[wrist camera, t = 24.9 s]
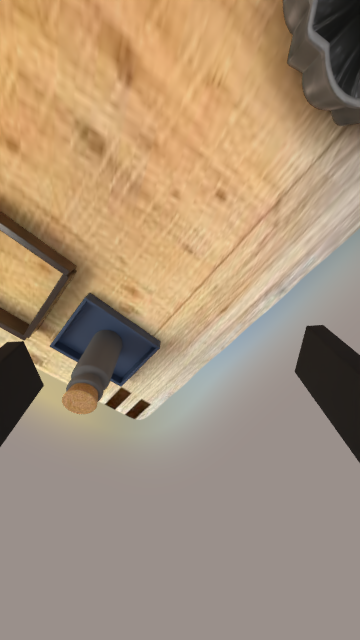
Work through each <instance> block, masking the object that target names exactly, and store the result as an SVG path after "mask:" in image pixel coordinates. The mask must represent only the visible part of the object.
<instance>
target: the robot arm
mask: <svg viewBox="0 0 360 640" xmlns="http://www.w3.org/2000/svg"><path fill="white" fill-rule="evenodd" d="M295 373H296V374H297V376H298V377H299V378H300V380H301V381H302V383H303V384H304V385H305V387H306V388H307V390H308V391H309V392H310V394H311V395H312V397H313V398H314V399H315V401H316V402H317V404H318V405H319V406H320V408H321V409H322V410H323V412H324V413H325V415H326V416H327V418H328V419H329V420H330V422H331V423H332V425H333V426H334V427H335V429H336V430H337V432H338V433H339V434H340V436H341V437H342V439H343V440H344V441H345V443H346V444H347V446H348V447H349V448H350V450H351V451H352V453H353V454H354V455H355V457H356V458H357V460H358V461H359V462H360V355H359V354H358V353H356V352H355V351H354V350H353V349H352V348H350V347H349V346H348V345H347V344H345V343H344V342H343V341H342V340H340V339H339V338H338V337H337V336H336V335H334V334H333V333H332V332H331V331H330V330H328V329H327V328H326V327H325V326H323V325H317V326H307V327H306V331H305V334H304V338H303V342H302V346H301V350H300V353H299V357H298V361H297V365H296V369H295ZM42 387H43V383H42V381H41V379H40V376H39V374H38V372H37V370H36V367H35V365H34V363H33V361H32V359H31V357H30V354H29V352H28V350H27V348H26V346H25V344H24V341H22V342H7V343H6V344H4V345H3V346H2V347H1V348H0V446H1V445H2V444H3V442H4V441H5V440H6V438H7V437H8V435H9V434H10V432H11V431H12V430H13V428H14V427H15V425H16V424H17V423H18V421H19V420H20V418H21V417H22V415H23V414H24V412H25V411H26V410H27V408H28V407H29V406H30V404H31V403H32V401H33V400H34V399H35V397H36V396H37V394H38V393H39V391H40V390H41V389H42Z"/></svg>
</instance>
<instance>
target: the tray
mask: <svg viewBox="0 0 360 640" xmlns="http://www.w3.org/2000/svg"><path fill="white" fill-rule="evenodd" d="M101 330H110V331H113V332H115V333H117V334H118V335H119V336H120V337H121V339H122V348H121V351H120V354H119V357H118V360H117V363H116V366H115V369H114V371H113V374H112V377H111V380H110V381H112V382H114V383H115V384H117V385H119V386H122V385H123V384H124V383H125V382H126V381H127V380H128V379H129V378H130V377H131V376H132V375H133V374H134V373H135V372H136V371H137V370H138V369H139V368H140V367H141V366H142V365H143V364H144V363H145V362H146V361H147V360H148V359H149V358H150V357H151V356H152V355H153V354H154V353H155V352H156V351H157V350H158V349H159V348H160V341H159V340H158V339H156V338H155V337H153V336H152V335H150V334H149V333H147V332H146V331H145V330H143V329H142V328H140V327H139V326H137V325H136V324H134V323H133V322H132V321H130V320H129V319H127V318H126V317H124V316H123V315H121V314H120V313H119V312H117V311H116V310H114V309H113V308H111V307H110V306H108V305H107V304H106V303H104V302H103V301H101V300H100V299H98V298H97V297H95V296H94V295H93V294H91V293H89V294H88V295H87V296H86V297H85V298H84V299H83V301H82V302H81V304H80V305H79V306H78V308H77V309H76V310H75V312H74V313H73V315H72V316H71V317H70V319H69V320H68V321H67V323H66V324H65V326H64V327H63V328H62V330H61V331H60V332H59V334H58V335H57V337H56V338H55V339H54V341H53V342H52V343H51V345H50V347H52V348H53V349H55V350H57V351H59V352H60V353H62V354H64V355H66V356H67V357H69V358H71V359H73V360H75V361H76V362H78V361H79V360H80V358H81V356H82V355H83V353H84V351H85V350H86V348H87V346H88V345H89V343H90V341H91V340H92V338H93V336H94V335H95V334H96V333H97V332H99V331H101Z"/></svg>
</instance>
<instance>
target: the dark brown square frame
mask: <svg viewBox="0 0 360 640" xmlns="http://www.w3.org/2000/svg"><path fill="white" fill-rule="evenodd" d="M0 230H1V231H2V232H4V233H5V234H6V235H8V236H9V237H11V238H12V239H14V240H15V241H17V242H18V243H19V244H21V245H22V246H24V247H25V248H27V249H28V250H30V251H31V252H32V253H34V254H35V255H37V256H38V257H40V258H41V259H42V260H44V261H45V262H47V263H48V264H50V265H51V266H53V267H54V268H55V269H57V270H58V271H60V272H61V273H63V275H62V276H61V278H60V279H59V281H58V283H57V284H56V286H55V287H54V289H53V290H52V292H51V293H50V295H49V296H48V298H47V300H46V301H45V303H44V304H43V306H42V307H41V309H40V310H39V312H38V314H37V315H36V317H35V318H34V320H33V321H32V323H31V324H30V325H29V324H27V323H26V322H24V321H22V320H21V319H19V318H17V317H15V316H14V315H12V314H10V313H8V312H7V311H5V310H3V309H2V308H0V328H2V329H4V330H6V331H8V332H10V333H11V334H13V335H15V336H17V337H19V338H20V339H22V340H26V338H30V337H31V335H32V334H33V333H34V332H35V331H36V330H37V329H38V328H39V327H40V325H41V324H42V322H43V321H44V319H45V318H46V316H47V315H48V313H49V312H50V310H51V309H52V307H53V306H54V304H55V303H56V301H57V300H58V298H59V297H60V295H61V294H62V292H63V291H64V289H65V288H66V286H67V285H68V283H69V282H70V280H71V279H72V277H73V276H74V274H75V273H76V271H75V268H76V266H75V265H74V264H73V263H71V262H70V261H69V260H67V259H66V258H64V257H63V256H62V255H60V254H59V253H57V252H56V251H55V250H53V249H52V248H50V247H49V246H48V245H46V244H45V243H44V242H42V241H41V240H39V239H38V238H37V237H35V236H34V235H32V234H31V233H30V232H28V231H27V230H26V229H24V228H23V227H21V226H20V225H19V224H17V223H16V222H14V221H13V220H12V219H10V218H9V217H7V216H6V215H5V214H3V213H2V212H1V211H0Z"/></svg>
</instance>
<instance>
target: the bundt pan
mask: <svg viewBox="0 0 360 640" xmlns="http://www.w3.org/2000/svg"><path fill="white" fill-rule="evenodd" d="M283 12H284V18H285V22H286V25H287V27H288V29H289V31H290V33H291V34H292V35H293V36H292V41H291V46H290V51H289V55H288V60H287V63H288V65H289V66H291V67H293V68H294V69H296V70H298V71H300V72H301V73H302V87H303V92H304V95H305V97H306V99H307V101H308V102H309V103H310V104H311V105H312V106H314V107H315V108H318V109H321V110H331V114H332V117H333V120H334V122H335V123H336V124H337V125H339V126H345V125H351V124H358V123H360V0H283Z"/></svg>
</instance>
